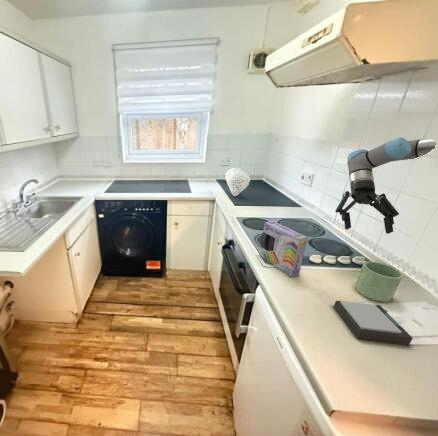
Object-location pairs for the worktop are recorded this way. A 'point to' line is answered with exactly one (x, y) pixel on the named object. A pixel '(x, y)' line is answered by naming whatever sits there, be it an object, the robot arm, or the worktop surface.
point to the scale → (371, 323)
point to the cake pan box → (283, 247)
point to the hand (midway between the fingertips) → (368, 230)
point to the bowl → (378, 281)
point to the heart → (237, 181)
